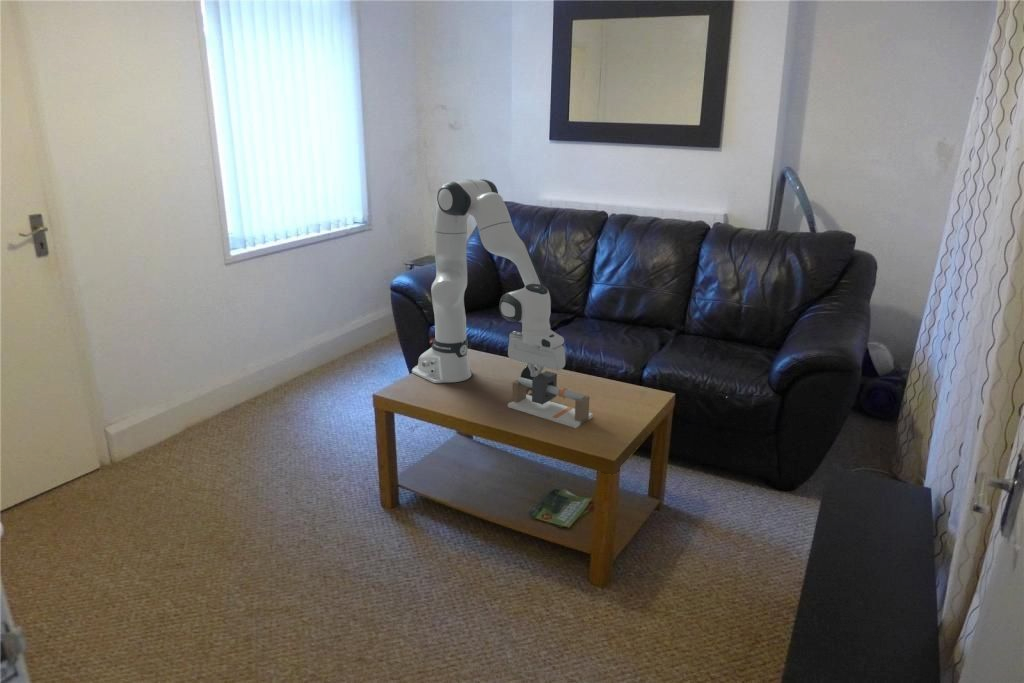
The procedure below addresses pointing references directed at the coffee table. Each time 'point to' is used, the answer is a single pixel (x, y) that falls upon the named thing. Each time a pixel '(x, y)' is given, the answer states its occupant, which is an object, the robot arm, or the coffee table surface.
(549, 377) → the collar
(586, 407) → the rail
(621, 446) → the coffee table surface
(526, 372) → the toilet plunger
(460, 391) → the coffee table surface
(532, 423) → the coffee table surface
